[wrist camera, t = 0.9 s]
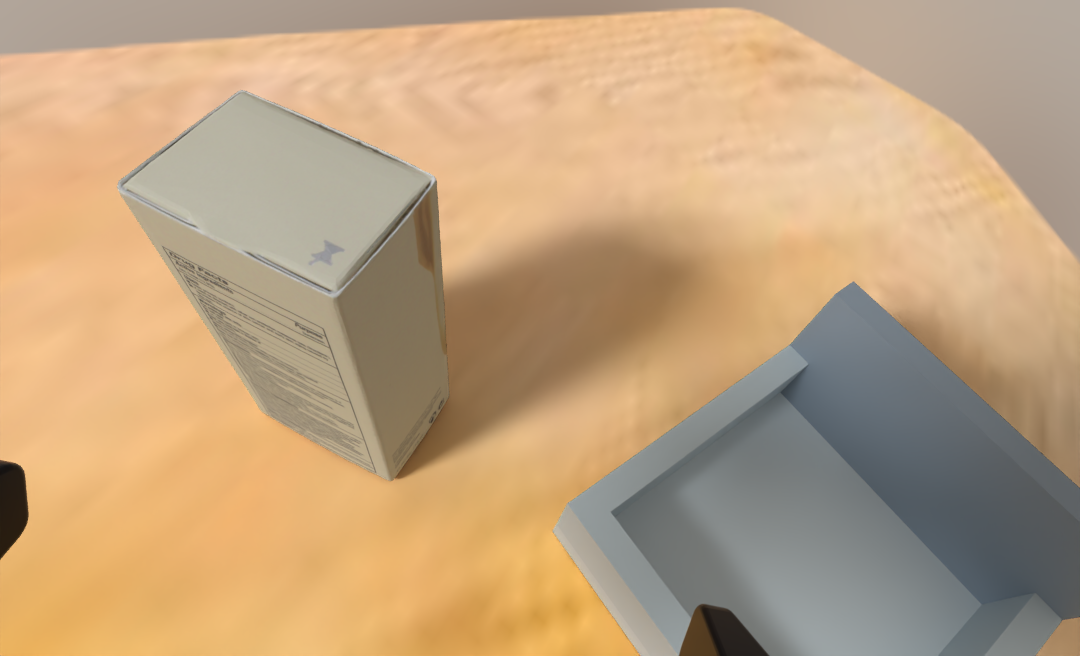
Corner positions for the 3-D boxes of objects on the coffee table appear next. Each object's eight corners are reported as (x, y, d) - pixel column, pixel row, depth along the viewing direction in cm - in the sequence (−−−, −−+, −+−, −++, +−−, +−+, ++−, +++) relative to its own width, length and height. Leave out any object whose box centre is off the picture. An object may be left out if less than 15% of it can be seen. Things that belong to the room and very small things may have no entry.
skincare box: (453, 395, 26) (455, 178, 16) (391, 487, 24) (347, 306, 13) (320, 325, 27) (239, 77, 17) (249, 407, 25) (104, 180, 14)
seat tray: (790, 867, 19) (942, 932, 13) (552, 531, 24) (586, 467, 18) (999, 615, 24) (1181, 580, 18) (769, 373, 28) (853, 281, 22)
